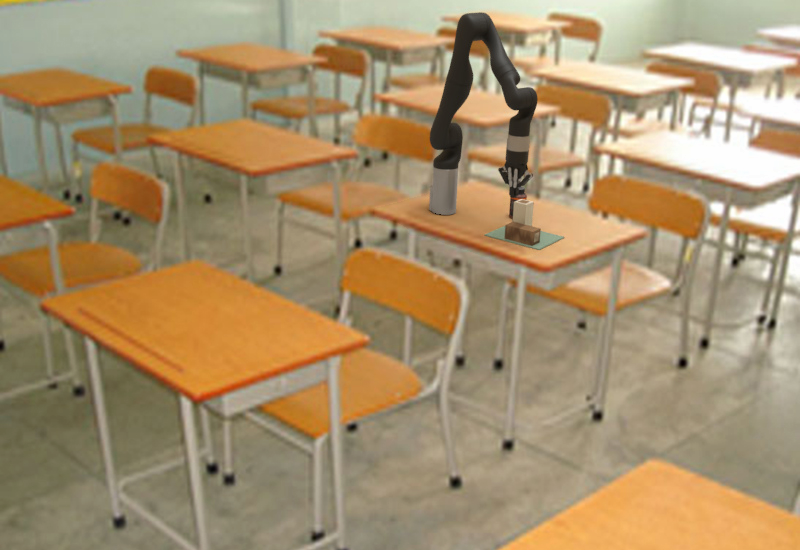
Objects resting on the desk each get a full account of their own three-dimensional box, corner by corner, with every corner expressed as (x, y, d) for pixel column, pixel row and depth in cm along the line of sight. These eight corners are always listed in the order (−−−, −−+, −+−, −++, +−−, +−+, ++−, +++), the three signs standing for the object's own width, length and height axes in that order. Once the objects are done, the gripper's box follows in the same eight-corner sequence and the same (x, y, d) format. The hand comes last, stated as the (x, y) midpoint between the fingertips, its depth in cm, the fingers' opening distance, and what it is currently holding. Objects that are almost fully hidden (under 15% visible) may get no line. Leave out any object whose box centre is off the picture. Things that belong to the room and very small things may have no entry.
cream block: (511, 231, 345) (514, 201, 341) (519, 228, 349) (521, 198, 345) (524, 235, 342) (526, 204, 338) (531, 231, 346) (533, 201, 342)
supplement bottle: (524, 220, 359) (526, 190, 354) (508, 219, 360) (510, 189, 355) (525, 215, 364) (528, 186, 360) (509, 214, 365) (511, 185, 361)
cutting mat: (484, 235, 342) (484, 234, 341) (510, 224, 354) (510, 223, 354) (539, 250, 329) (539, 249, 329) (564, 237, 342) (564, 236, 341)
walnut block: (505, 224, 336) (533, 232, 330) (513, 221, 340) (540, 228, 333) (504, 238, 338) (532, 246, 332) (512, 235, 342) (539, 242, 335)
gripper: (494, 146, 328) (491, 195, 335) (528, 153, 321) (524, 204, 327) (506, 142, 334) (502, 190, 340) (540, 149, 326) (535, 199, 333)
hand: (513, 197), depth 334 cm, fingers closed
